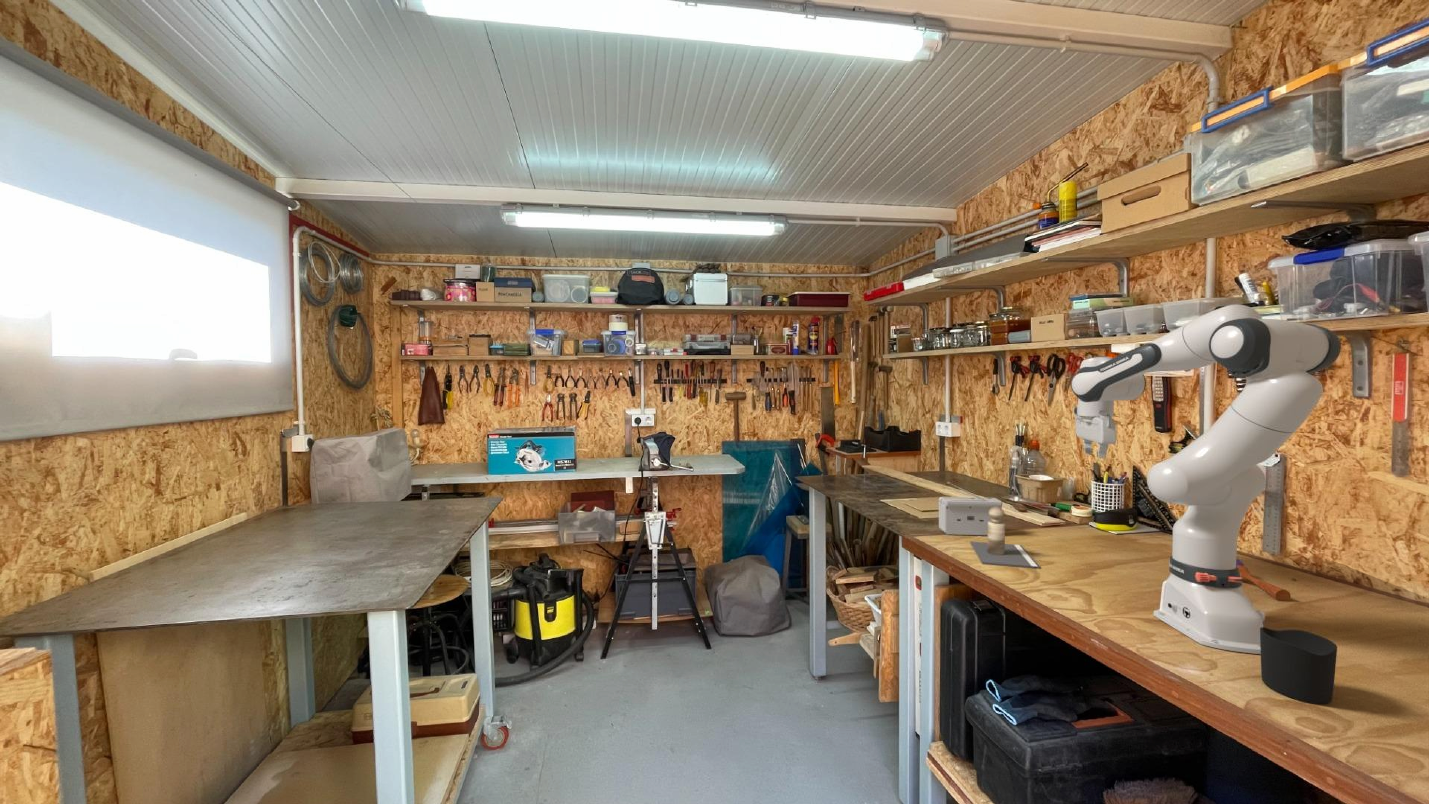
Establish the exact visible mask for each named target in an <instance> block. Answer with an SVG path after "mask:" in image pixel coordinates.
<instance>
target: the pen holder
mask: <svg viewBox="0 0 1429 804" xmlns="http://www.w3.org/2000/svg"><path fill="white" fill-rule="evenodd" d="M1260 647H1261V654H1260V670H1261V671H1260V672H1261V673H1260V674H1261V680H1262V683H1264V685H1265V686H1266V687H1267V688H1269V689H1270V690H1272V691H1273V692H1276V693H1278V694H1280V695H1281V696H1284V697H1287V698H1289V699H1293V700H1296V701H1299V702H1303V703H1310V704H1313V705H1325V704H1329V703H1331V702H1332V700H1333V695H1334V687H1335V677H1336V676H1335V675H1336V667H1337V655H1338V654H1337V652H1338V645H1337V644H1336V643H1335V642H1333V641H1332V640H1330V639H1327V638H1325V637H1324V636H1321V635H1319V634H1315V633H1312V632H1309V631H1306V630H1301V629H1281V630H1278V629H1277V630H1276V629H1275V630H1274V629H1271V628H1269V627H1264V626H1263V627H1261V628H1260Z"/></svg>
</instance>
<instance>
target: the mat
mask: <svg viewBox="0 0 1429 804" xmlns="http://www.w3.org/2000/svg"><path fill="white" fill-rule="evenodd" d="M970 545H971V546H972V548H973V550H974V552H975V554H976V556H977V557H978V559H979V561H980V563H981V564H982V565H990V566H1003V567H1004V566H1005V567H1017V568H1027V569H1028V568H1029V569H1030V568H1031V569H1037V568H1040V569H1041V566H1040V564H1038V562H1037V561H1036V560H1035V559H1034V557H1032V556H1031V555H1030V553H1029V552H1028V551H1027V550H1026V549H1025V547H1023V545H1022V544H1013V543H1012V544H1011V543H1009V544H1008V543H1005V554H1004V555H994V554H990V553H988V552H987V551H988V542H983V541H982V542H981V541H970Z"/></svg>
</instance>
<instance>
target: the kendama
mask: <svg viewBox="0 0 1429 804" xmlns="http://www.w3.org/2000/svg"><path fill="white" fill-rule="evenodd" d="M1236 566H1237V567H1238V569H1239V573H1240V575H1241V578H1243V579H1241V581H1242V580H1243V581H1245V580H1246V581H1250V582H1251V583H1252V584H1254V585H1255V586H1257V587H1258V588H1260V589H1261V590H1262V591H1264V592H1265V593H1266V594H1267V595H1269V596H1271V597H1272V598H1274V599H1275V600H1276V601H1278V602H1287V601H1289V600H1290V598H1291V593H1290V591H1289V590H1287V589H1284V588H1282V587H1279V586H1276V585H1274V584H1271V583H1269V582H1266V581H1265V580H1261V579H1258V578H1256V577H1254V576H1252V574H1251V572H1250V571H1249V569H1248V567H1246V566H1245V564H1244V563H1243V562H1242V561H1241V560H1240V559H1238V558H1236Z"/></svg>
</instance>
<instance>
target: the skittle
mask: <svg viewBox="0 0 1429 804" xmlns="http://www.w3.org/2000/svg"><path fill="white" fill-rule="evenodd" d="M989 516H990V518H991V521H988V535H987V543H988V551H987V552H988V553H990V554H994V555H1004V554H1005V544H1006V523H1005V522H1004V521H1002V520H1003V519H1004V518H1005V511H1004V509H1003V508H1002V509H1001V508H1000V507H992V508H991V509H990V510H989Z"/></svg>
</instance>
